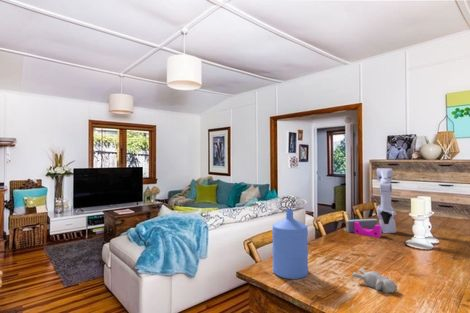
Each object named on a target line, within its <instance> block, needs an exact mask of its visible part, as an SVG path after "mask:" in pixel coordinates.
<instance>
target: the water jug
mask: <svg viewBox="0 0 470 313" xmlns="http://www.w3.org/2000/svg"><path fill="white" fill-rule="evenodd" d="M285 211H286V212H285V215H286V216H285V218H284V219H282V220H279V221H277V222H275V223H273V224H272V229H271V230H272V232H271V233H272V249H271V250H272V272H273V273H274V275H275V276H278V277H280V278H283V279H288V280H298V279H303V278H305V277H306V276H308V274H309V264H308V263H309V259H308V258H309V249H308V248H309V246H308V243H309V242H308V236H309V233H308V232H309V231H308V226H307V225H306V224H305V223H302V222H301V221H298V220H297V219H295V218H294V209H292V208H287V209H285Z"/></svg>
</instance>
